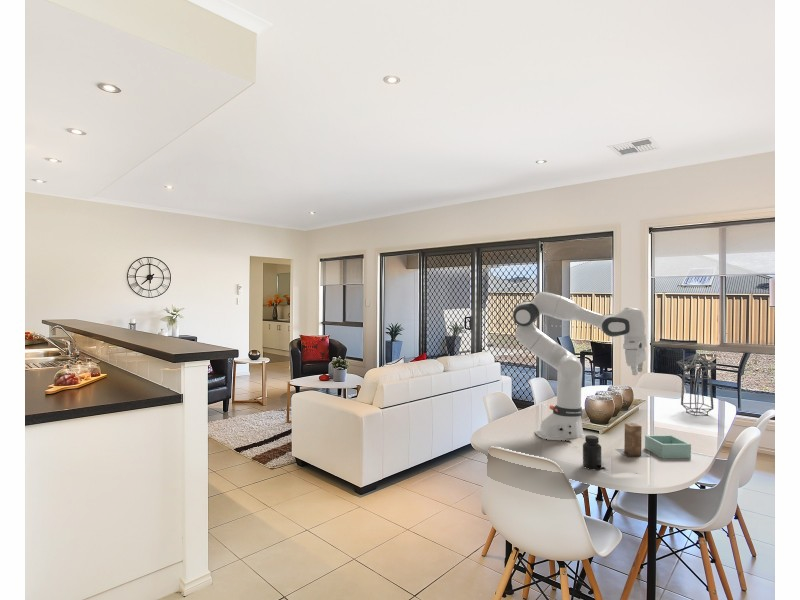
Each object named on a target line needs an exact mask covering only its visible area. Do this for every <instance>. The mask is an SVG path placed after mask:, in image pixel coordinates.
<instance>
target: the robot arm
mask: <svg viewBox="0 0 800 600" xmlns="http://www.w3.org/2000/svg"><path fill="white" fill-rule="evenodd" d="M541 315H543V316H549V317H551V318H554V319H556V320H560V321H567V322H569V321H578V322H583V323H584V324H588V325H591V326H594V327H596V328H598V329H599V330H600V331H602V332H603V333H604V334H605V335H606V336H608V337H611V338H616V337H619V336H623V338H624V339H623V343H622V344H623V345H622V348H623V350H624V355H625V361H626V362H625V363H626V364H627V365H626V366H628V367H630V370H631V374H632V376H637V375H638V374H639V373H642V372H643V366H644V362H645V361H646V359H647V356H646V348H647V347H648V345H647V335H646V333H645V331H646V330H645V329H646V321H645V316H644V315H645V314H644V312H643V311H642V310H641V309H640V308H635V307H624V308H623V309H621V311H619V312H617V313H615V314H601V313H599V312H595V311H592V310H589V309H586V308H584V307H582V306H581V305H579V304H577V303H576V301H575V302H574V301H573V300H571V299H569V298H567V297H565V296H562V295H559V294H555V293H552V292H547V291H540V292H538V293H537V294H536V295H535V297H534V298H533V300H532V301H531V300H523V301H522V302H520V303H518V304H517V305H516V306H515V309H513V312H512V318H513V322H514V323H516V325H518V326H517V327H516V329H515V331H514V332H515V333H514V336H515V339H516V340H517V341H519V343H520V344H522V345H523V347H524V348H526V349H527V350H528V351H529V352H531V353H532V354H533V355H535V356H536V357H538V358H539V359H540V361H541V360H542V361H543V362H545V363H546V364H547V365H549V366H551V367H552V368H554V369H555V370H557V378H556V379H557V380H556V381H557V382H556V404H555V406H554V405H549V406H548V407H549V409H550V410H552V413H550V414H549V415H548V416H546V417H545V418H543V419H542V420H541V422H540V426H539V428H538V429H535V431H534V432H535V434H536V436H538V437H539V438H541V439H543V440H546V439H547V441H561V440H562V441H563V442H565V440H566V442H570V440H569V439H585V434H584V429H583V422H582V418H583V408H582V386H583V385H582V384H583V365H582V363H581V361H580V360H579V357H577V356H576V355H575V354H574V353H572V352H570V351H569V350H567V349H566V348H565V347H563V346H562V345H561V344H559V343H558V342H556V341H555V340H554V339H552V338H551V337H549V336H548V335H547V334H546V333H544V332H543V331H541V330H540V329H539V328H537V326H536V324H535V323H536V321H537V319H538V317H539V316H541ZM562 441H561V442H562Z"/></svg>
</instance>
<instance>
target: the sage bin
mask: <svg viewBox="0 0 800 600" xmlns="http://www.w3.org/2000/svg"><path fill="white" fill-rule="evenodd" d="M644 449H646V450H648V451H649V452H651V453H652V454H654V455H656V456H658V457H660V458H661V459H690V460H691V458H692V444H691V443H689V442H687V441H685V440H682V439H680V438H678V437H677V436H674V435H671V434H669V435H668V434H666V435H665V434H664V435H662V434H661V435H657V434H656V435H655V434H654V435H653V434H652V435H644Z"/></svg>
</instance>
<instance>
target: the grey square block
mask: <svg viewBox="0 0 800 600" xmlns="http://www.w3.org/2000/svg"><path fill="white" fill-rule="evenodd" d="M615 451H616V452H619V453H620V454H622V455H623V456H625V457H626V458H633V459H634V458H651V456H650V455H648V454H647V453H645V452H644V451H642V450H641V455H630V454H628V453H626V452H625V451H624V448H615Z"/></svg>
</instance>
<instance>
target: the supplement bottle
mask: <svg viewBox="0 0 800 600" xmlns="http://www.w3.org/2000/svg"><path fill="white" fill-rule="evenodd" d="M602 458H603V457H602V445H601V444H600V443H599V437H598V436H597V435H593V434H588V435H584V443H583V444H582V465H583V468H585V467H586V468H585V469H587V468H589V469H588V470H590V469H599V470H601V469H602V465H603V464H602Z"/></svg>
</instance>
